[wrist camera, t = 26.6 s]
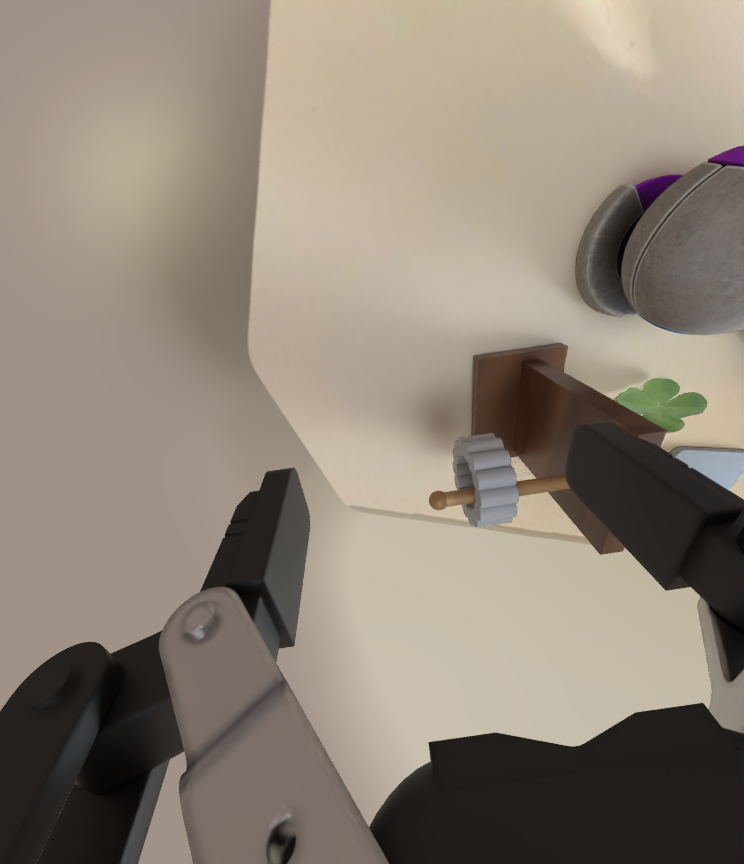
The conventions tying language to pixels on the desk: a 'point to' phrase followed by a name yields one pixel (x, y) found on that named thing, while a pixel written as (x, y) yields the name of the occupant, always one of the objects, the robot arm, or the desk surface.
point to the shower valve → (713, 463)
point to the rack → (543, 426)
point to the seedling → (663, 403)
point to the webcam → (671, 250)
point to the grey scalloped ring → (486, 479)
